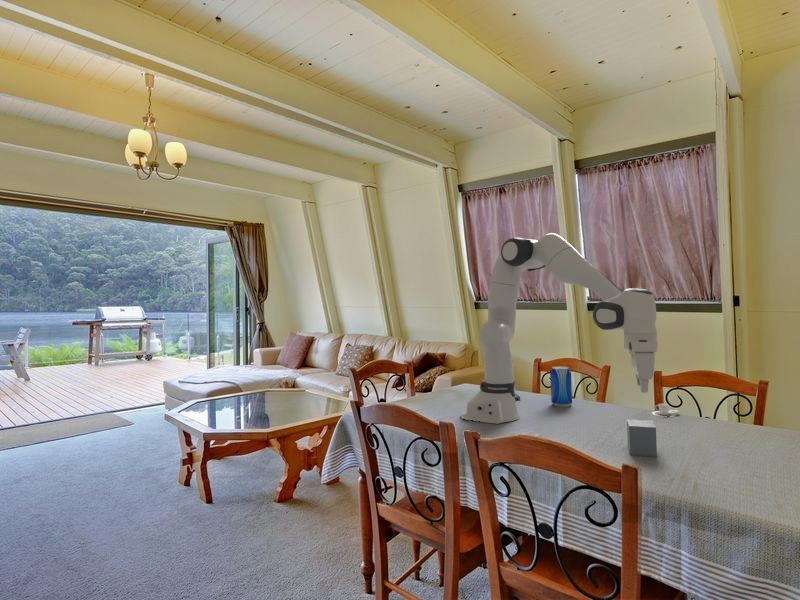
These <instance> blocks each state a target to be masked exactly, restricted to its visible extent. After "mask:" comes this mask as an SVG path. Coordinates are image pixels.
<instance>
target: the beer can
mask: <svg viewBox="0 0 800 600" xmlns="http://www.w3.org/2000/svg"><path fill="white" fill-rule="evenodd" d="M549 375H550V376H549V378H550V402H551V403H552V404H553V406H555V407H558V408H568V407H571V406H572V404H573V392H572V391H573V388H572V386H573V385H572V384H573V383H572V372H571V370H570V367H568V366H564V365H562V366H561V365H559V366H558V365H557V366H552V368H551V371H550V374H549Z"/></svg>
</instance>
